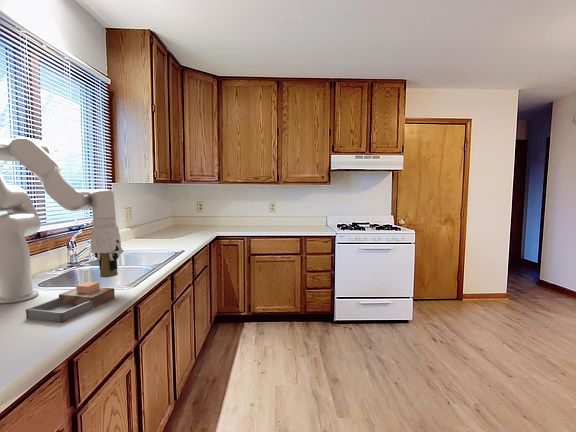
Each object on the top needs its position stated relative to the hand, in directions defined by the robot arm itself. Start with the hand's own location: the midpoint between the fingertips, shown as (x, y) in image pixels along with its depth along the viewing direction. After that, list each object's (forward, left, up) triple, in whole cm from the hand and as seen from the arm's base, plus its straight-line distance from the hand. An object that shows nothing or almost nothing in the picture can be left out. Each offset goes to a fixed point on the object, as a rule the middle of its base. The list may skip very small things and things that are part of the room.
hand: (108, 269), depth 128 cm
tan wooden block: (0, -10, -9) cm, 14 cm away
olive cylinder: (0, 0, -2) cm, 2 cm away
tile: (0, -10, -5) cm, 11 cm away
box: (0, -21, -9) cm, 23 cm away
